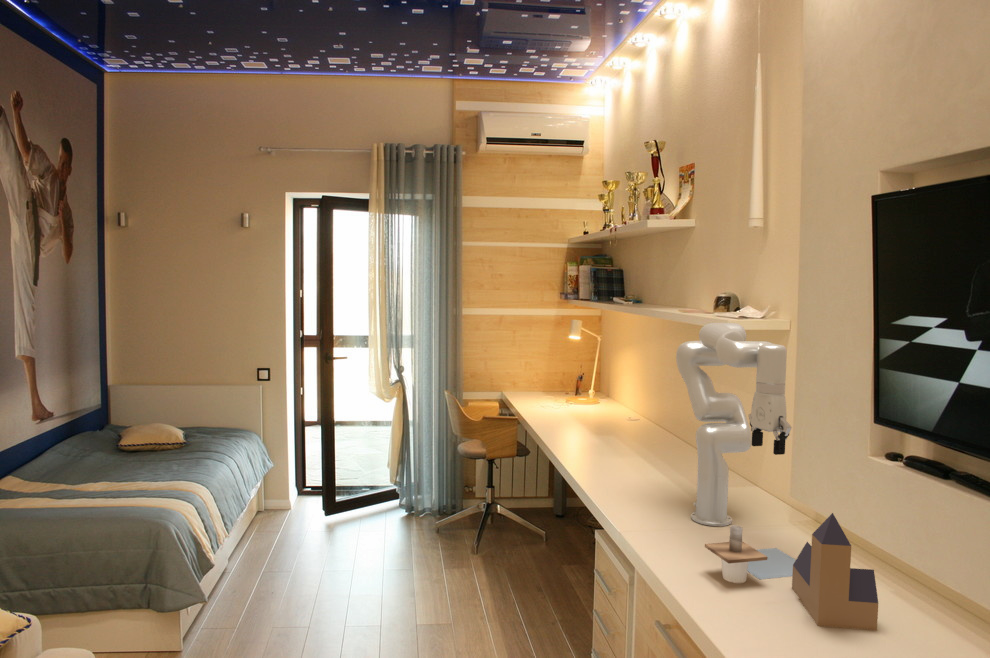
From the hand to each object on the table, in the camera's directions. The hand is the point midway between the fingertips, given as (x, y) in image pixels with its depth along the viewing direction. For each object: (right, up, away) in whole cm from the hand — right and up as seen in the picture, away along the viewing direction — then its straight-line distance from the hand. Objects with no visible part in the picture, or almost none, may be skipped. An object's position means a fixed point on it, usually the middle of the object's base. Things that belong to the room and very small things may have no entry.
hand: (767, 449), depth 190 cm
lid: (-14, -24, -14) cm, 31 cm away
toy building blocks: (+4, -33, -29) cm, 44 cm away
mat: (-1, -31, -3) cm, 31 cm away
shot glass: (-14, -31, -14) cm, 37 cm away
